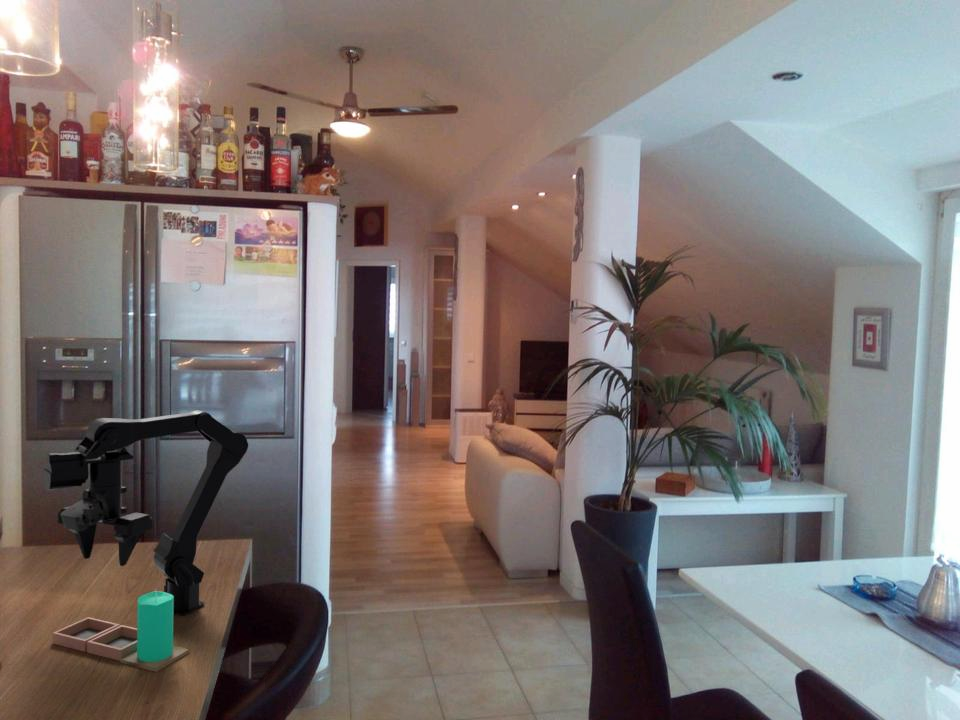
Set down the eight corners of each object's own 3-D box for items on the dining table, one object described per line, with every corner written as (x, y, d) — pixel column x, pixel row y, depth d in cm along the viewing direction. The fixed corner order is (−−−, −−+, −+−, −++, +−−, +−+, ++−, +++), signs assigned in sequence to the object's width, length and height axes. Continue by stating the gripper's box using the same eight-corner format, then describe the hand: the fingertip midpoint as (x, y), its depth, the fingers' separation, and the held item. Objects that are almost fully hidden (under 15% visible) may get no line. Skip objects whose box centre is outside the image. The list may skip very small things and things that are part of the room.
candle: (136, 649, 136) (137, 585, 135) (171, 644, 139) (172, 581, 138) (137, 664, 131) (138, 597, 130) (174, 658, 133) (175, 593, 132)
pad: (188, 652, 137) (188, 649, 137) (156, 671, 129) (156, 668, 129) (154, 644, 140) (154, 641, 140) (120, 662, 132) (120, 659, 132)
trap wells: (154, 642, 140) (154, 632, 140) (120, 660, 133) (120, 650, 133) (88, 627, 146) (88, 617, 146) (52, 643, 138) (52, 633, 138)
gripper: (32, 486, 140) (32, 567, 141) (108, 498, 134) (107, 583, 135) (82, 475, 151) (82, 550, 152) (155, 486, 144) (154, 564, 145)
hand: (104, 561), depth 146 cm, fingers open, 9 cm apart
